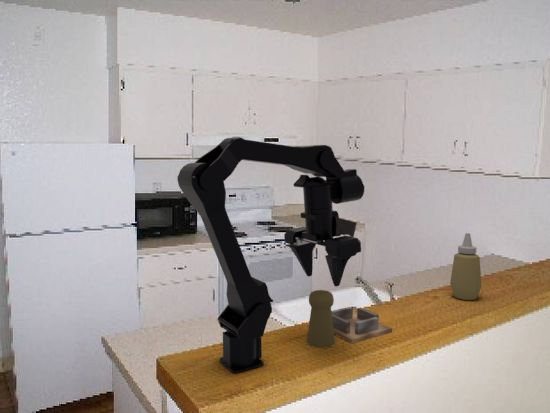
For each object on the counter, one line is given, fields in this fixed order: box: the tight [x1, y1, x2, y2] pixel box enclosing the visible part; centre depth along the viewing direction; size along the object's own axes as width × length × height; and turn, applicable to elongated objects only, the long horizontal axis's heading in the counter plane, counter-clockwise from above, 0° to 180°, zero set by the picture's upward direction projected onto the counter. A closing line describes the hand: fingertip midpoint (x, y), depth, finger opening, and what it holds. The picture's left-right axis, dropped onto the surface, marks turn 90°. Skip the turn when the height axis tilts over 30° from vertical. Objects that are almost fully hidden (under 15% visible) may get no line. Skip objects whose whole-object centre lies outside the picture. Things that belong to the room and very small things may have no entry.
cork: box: [306, 289, 336, 349], centre depth 97 cm, size 6×6×11 cm
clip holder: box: [331, 306, 393, 344], centre depth 105 cm, size 12×12×3 cm
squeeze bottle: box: [449, 232, 483, 301], centre depth 127 cm, size 8×8×18 cm
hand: (322, 280), depth 96 cm, fingers open, 9 cm apart
